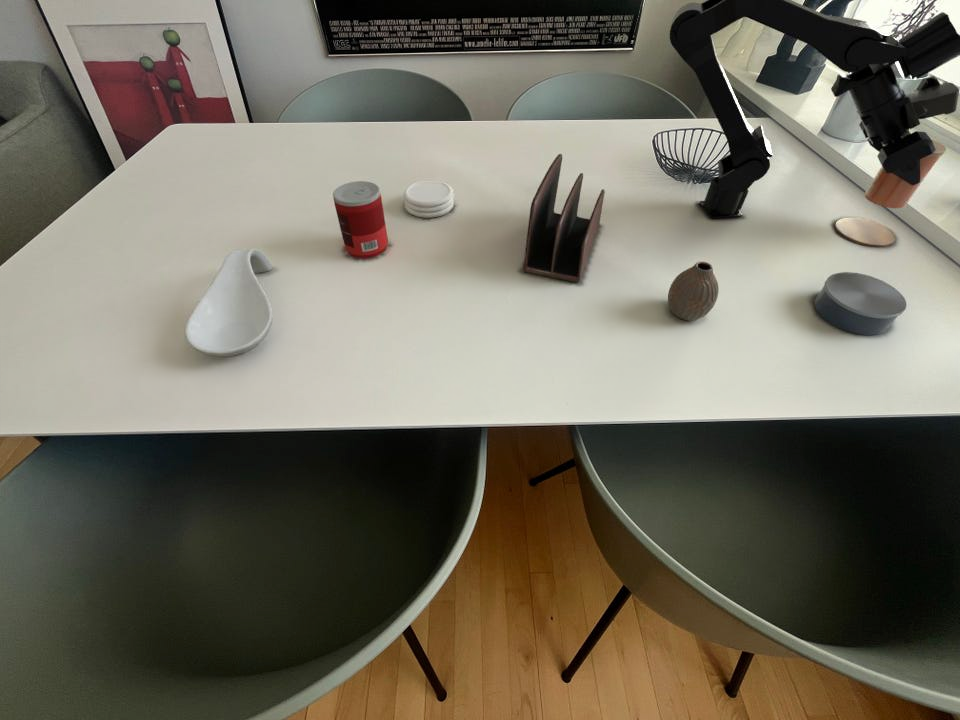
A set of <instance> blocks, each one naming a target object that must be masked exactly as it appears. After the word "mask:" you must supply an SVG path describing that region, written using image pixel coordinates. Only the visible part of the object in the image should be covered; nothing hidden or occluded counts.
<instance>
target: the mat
mask: <svg viewBox="0 0 960 720" xmlns="http://www.w3.org/2000/svg"><path fill="white" fill-rule="evenodd" d="M834 228H835V231H836V232H837V233H838V234H839V235H840V236H842V237H844V238H845V239H847V240H849V241H850V242H853V243H856V244H859V245H863V246H866V247H873V248H874V247H875V248H881V247H882V248H884V247H889V246H891V245H892V244H893V243H894V242H895V241H896V234H895V233H894V232H893V231H892V230H891V229H890V228H888V227H887V226H885V225H883V224H881V223H878V222H877V221H873V220H872V219H871V220H870V219H867V218H861V217H849V216H848V217H842V218H840V219H838V220H837V221H836V223H835V224H834Z"/></svg>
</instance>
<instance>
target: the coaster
mask: <svg viewBox="0 0 960 720" xmlns="http://www.w3.org/2000/svg"><path fill="white" fill-rule="evenodd" d="M403 202H404V208H405V210H406V212H408V214H411V215H412V216H414V217H417V218H424V219H432V218H438V217H443V216H445V215H446V214H448V213H450V211H452V210H453V208H454V203H455V202H454V191H453V188H452V187H451V186H450V185H449V184H447V183H445V182H443V181H439V180H431V179H430V180H429V179H428V180H420V181H416V182H414V183H411V184H410V185H408V186H407V187H405V189H404V191H403Z"/></svg>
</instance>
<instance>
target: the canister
mask: <svg viewBox="0 0 960 720" xmlns="http://www.w3.org/2000/svg"><path fill="white" fill-rule="evenodd" d="M902 138H903V137H902ZM931 140H932V141H933V144H934V147H935V149H936V150H935V151H934V152H933V153H932V154H931V155H928V156H926V157H924V158H922V159H920V183H918V184H916V185H913V186H912V185H910V184H909V183H907V182H905V181H904V180H902V179H901V178H899V177H897V176H896V175H894V174H892V173H886V172H885V171H884V169H883V167H882V166H881V167H880V169H879V170H878V172H877V173H876V175H875V177H874V178H873V180H872V181H871V183H870V184H869V186H868V188H867V189H866V191H865V192H864V198H865V199H866V200H867V201H868V202H870V203H872V204H875V205H877V206H880V207H883V208H888V209H902V208H904V207H906V206H907V205H908V203H909V201H910V200H911V198H912V197H913V196H914V195H915V193H916V191H917V190H918V189H919V187H920V186H921V185H922V183H923V182H924V181H925V179H926V177H927V176H928V175H929V173H930V172H931V171H932V169H933V167H935V165H936V163H937V162H938V161H939V160H940V158H941V157H942V156H943V155H944V154H945V153H946V151H947V147H946V146H945V145H944V144H943V143H941V142H939V141H936V140H934V139H931Z"/></svg>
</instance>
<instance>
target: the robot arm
mask: <svg viewBox="0 0 960 720" xmlns="http://www.w3.org/2000/svg"><path fill="white" fill-rule="evenodd" d="M744 18H747V19H750V20H752V21H754V22H757V23H759V24H761V25H763V26H765V27H768V28H770V29H773V30H775V31H777V32H780V33H782V34H784V35H786V36H788V37H791V38H793V39H795V40H797V41H800V42H802V43H805V44H807V45H809V46H811V47H812V48H813V49H815V50H816V51H817V52H818V53H820V55H822V56H823V57H824V58H825V59H827V60H828V61H829V62H831V63H832V64H833V65H834V66H835V67H837V68H838V69H840V70H841V71H843V72H845V73H846V74H842V73H839V74H837V76H836V80H835V81H834V83H833V84H832V86H831V88H830V91H831V92H832V94H833V96H834V97H835V98H838V97H840V96H842V95H843V94H845V93H847V92H848V94H849V96H850V99H851V100H852V103H853V105H854V107H855V109H856V113H857V115H858V117H859V120H860V123H859V124H858V125H859V128H860V130H861V132H862V134H863V136H864V138H865V139H867V142H868V144H869V146H871V147H872V148H873V149H874V150H876V151H877V152H878V154H877V158H878V159H877V160H878V161H879V164H880V166H881V167H883V169H884V171H885V172H886V173H892V174H894V175H896V176H897V177H899V178H901V179H902V180H904V181H905V182H907V183H909V184H910V185H912V186H913V185H916V184H918V183H920V159H922V158H924V157H926V156H928V155H931V154H932V153H933V152H934V151H935V150H936V149H935V147H934V144H933V141H932V140H933V139H932V138H931V137H930V136H929V134H928V133H927V131H918V130H915V131H913V132H912V133H911V131H910V130H912V129H914V128H916V127H918V126H920V125H921V122H920V120H925V119H929V118H933V117H937V116H940V115H950V114H953V113H955V112H956V111H957V109H958V108H957V107H958V106H957V105H958V101H959V95H960V88H959V87H958V86H956V84H954V83H953V82H947V81H946V80H945V81H942V83H940V81H939V79H938V78H937V77H936V76H935V75H932V76H928V77H924V76H925V75H927V74H929V73H931V72H932V71H934V70H937V69H938V68H939V67H942V66H944V65H945V64H948V63H949V62H951V61H952V60H954V59H956V58H957V57H960V33H958V32H957V29H956V27H955V26H954V24H953V23H952V21H951V20H950V16H949V14H948V13H946V12H945V11H944V12H943V11H941V12H940V13H938V14H937V15H935V16H933V17H932V18H930V19H929V20H928V21H926V23H924V24H923V25H921V26H919V27H917V28H915V29H914V30H912V31H911V32H910V33H907V34H906V35H904V36H903V37H901V38H900V39H896V37H895V36H893V35H892V34H889V35H888V34H884V33H882V32H880V31H879V30H878V29H877V28H876V27H875V26H874V25H872V24H871V23H870V22H869V21H866V20H862V19H856V18H851V17H845V16H836V15H835V16H834V15H828V14H823V13H822V12H820V11H817V10H815V9H812V8H811V7H807V6H805V5H803V4H801V3H798V2H796V1H794V0H705V1H702V2H701V3H699V2H688V3H686V4H684V5H682V6H681V7H679V9H678V10H677V11H676V12H675V14H674V15H673V17H672V21H671V25H670V29H669V41H670V44H671V46H672V47H673V49H674V50H675V52H676V53H677V54H678V56H680V58H681V59H682V60H683V62H684V63H685V64H686V65H687V66H688V67H689V68H691V70H692V71H693V72H694V74H695V75H696V77H697V79H698V81H699V84H700V86H701V89H702V90H703V92H704V94H705V96H706V99H707V101H708V102H709V105H710V106H711V109H712V111H713V113H714V115H715V117H716V119H717V121H718V124H719V125H720V127H721V130H722V133H723V134H724V136H725V139H726V140H727V144H728V145H727V146H728V150H729V154H727V155H725V156H724V157H722V158H721V159H719V160H718V161H717V165H718V166H717V169H718V170H717V171H718V175H717V176H716V177H712V178H711V181H710V183H709V186H708V189H707V191H706V192H707V193H706V195H705V198H704V200H700V201H699V202H698V205H699V206H700V207H701V209H703V211H704V212H705V213H706V214H707V216H708V217H710V219H712V220H714V219H716V220H717V219H732V218H742V216H743V213H742V212H741V210H742V207H743V205H744V203H745V201H746V199H747V196H748V194H749V189H750V188H751V186H752V185H753V184H755V182H757V181H759V180H761V179H762V178H764V176H766V175H767V173H768V171H769V170H770V168H771V161H770V158H773V151H772V147H771V143H770V140H768V139H767V138H766V136H765V135H764V129H763V125H762V124H760V125H759V126H757V127H756V128H753V127H752V126H751V125H750V124H749V123H748V121H747V119H746V117H745V114H744V112H743V110H742V108H741V106H740V104H739V102H738V101H739V100H738V99H737V97H736V95H735V93H734V90H733V88H732V86H731V83H730V82H729V78H728V77H727V75H726V72H725V70H724V68H723V66H722V63H721V61H720V59H719V57H718V55H717V51H716V47H715V42H714V36H713V35H714V34H716V33H718V32H720V31H722V30H724V29H726V28H727V27H729V26H731V24H733V23H735V22H737V21H739V20H741V19H744ZM894 64H895V65H896V68H897V70H898V72H899V74H900V76H901V77H902V78H903V79H904V80H905V79H907V78H908V77H910V79H911V80H915V81H916V80H919V79H920V78H922V77H924V78H922V79H921V81H920V82H919V83H918V86H917V87H916V89H913V91H912V92H910V93H908V94H907V93H905V91H904V89H902V88H901V86H900V83H899V81H898V78H897V76H896V73H895V70H894V69H893V65H894ZM902 137H903V138H902Z"/></svg>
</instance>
